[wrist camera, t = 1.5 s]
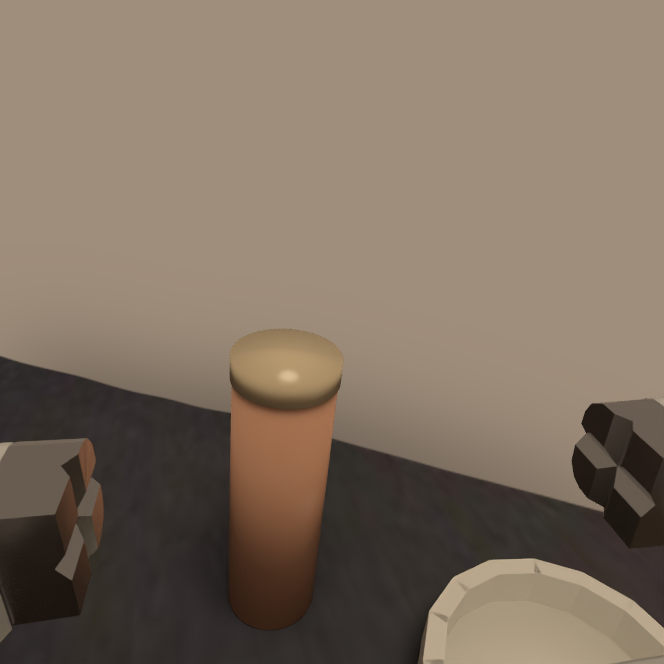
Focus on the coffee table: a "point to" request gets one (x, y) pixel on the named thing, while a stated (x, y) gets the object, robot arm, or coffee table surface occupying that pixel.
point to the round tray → (535, 619)
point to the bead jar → (278, 470)
